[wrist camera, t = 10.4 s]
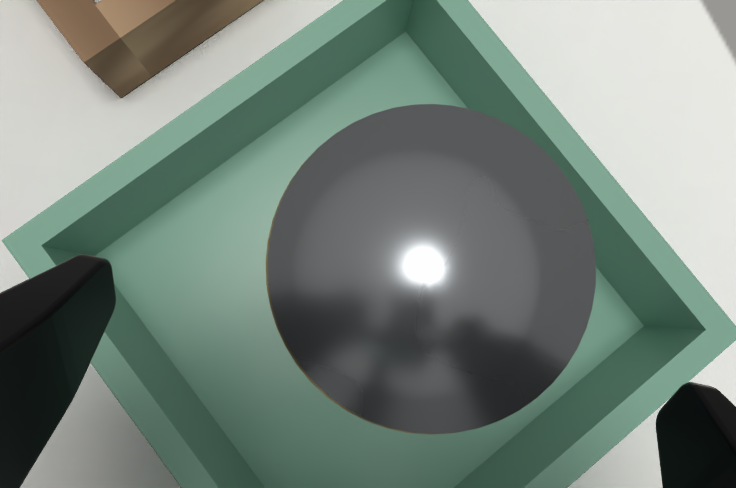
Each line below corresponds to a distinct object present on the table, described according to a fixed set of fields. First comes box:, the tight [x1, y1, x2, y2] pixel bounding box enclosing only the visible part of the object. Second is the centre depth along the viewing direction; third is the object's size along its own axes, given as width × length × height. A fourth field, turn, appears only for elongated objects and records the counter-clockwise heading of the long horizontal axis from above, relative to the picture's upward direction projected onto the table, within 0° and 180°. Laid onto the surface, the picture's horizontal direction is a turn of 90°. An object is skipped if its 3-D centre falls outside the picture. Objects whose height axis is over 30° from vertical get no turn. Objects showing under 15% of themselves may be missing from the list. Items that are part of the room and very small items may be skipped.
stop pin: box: [266, 104, 596, 435], centre depth 13 cm, size 4×4×13 cm
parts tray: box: [2, 0, 736, 488], centre depth 18 cm, size 16×16×4 cm
